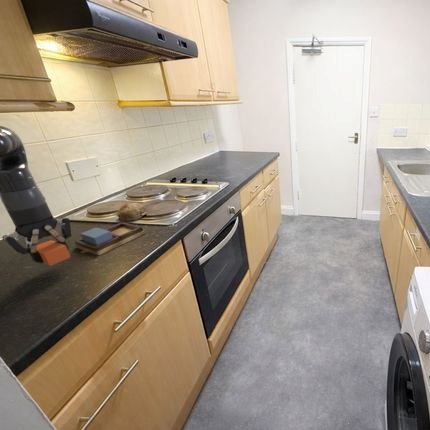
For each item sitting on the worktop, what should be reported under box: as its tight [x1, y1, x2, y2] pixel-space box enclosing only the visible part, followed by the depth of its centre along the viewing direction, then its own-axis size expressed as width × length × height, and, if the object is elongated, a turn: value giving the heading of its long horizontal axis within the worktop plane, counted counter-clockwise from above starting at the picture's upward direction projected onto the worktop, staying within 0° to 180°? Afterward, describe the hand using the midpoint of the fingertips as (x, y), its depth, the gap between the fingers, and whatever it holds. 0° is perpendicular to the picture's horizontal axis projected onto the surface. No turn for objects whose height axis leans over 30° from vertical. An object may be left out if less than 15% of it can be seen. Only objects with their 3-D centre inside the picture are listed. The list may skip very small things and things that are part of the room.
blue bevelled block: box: [80, 227, 113, 246], centre depth 91 cm, size 5×8×4 cm, turn 66°
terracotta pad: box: [37, 239, 72, 267], centre depth 77 cm, size 5×8×4 cm, turn 66°
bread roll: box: [116, 202, 148, 222], centre depth 113 cm, size 10×10×8 cm
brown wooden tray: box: [74, 221, 146, 256], centre depth 95 cm, size 16×13×3 cm
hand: (52, 257), depth 78 cm, fingers closed on terracotta pad, 5 cm apart
